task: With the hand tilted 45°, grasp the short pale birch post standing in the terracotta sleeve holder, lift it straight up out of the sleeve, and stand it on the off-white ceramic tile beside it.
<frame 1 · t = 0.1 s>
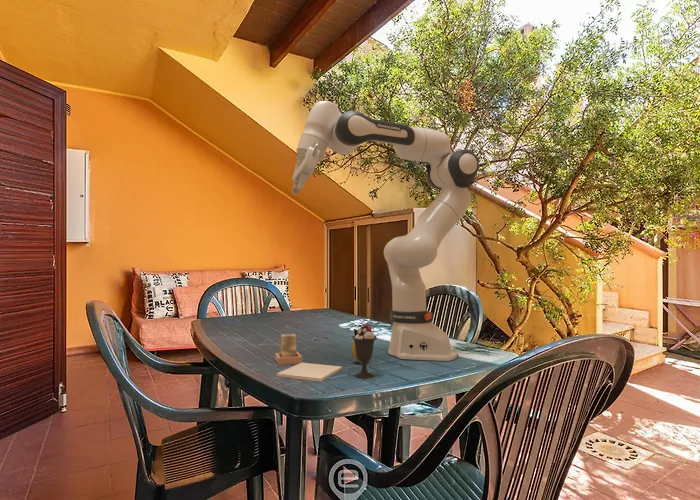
hand: (297, 191, 127), 52 cm above the table, tool tilted 20°, fingers open, 8 cm apart
tile: (310, 372, 112), on the table
birch post: (288, 348, 125), in the sleeve holder
sundae: (364, 376, 109), on the table
sleeve holder: (288, 361, 125), on the table
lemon: (361, 363, 124), on the table
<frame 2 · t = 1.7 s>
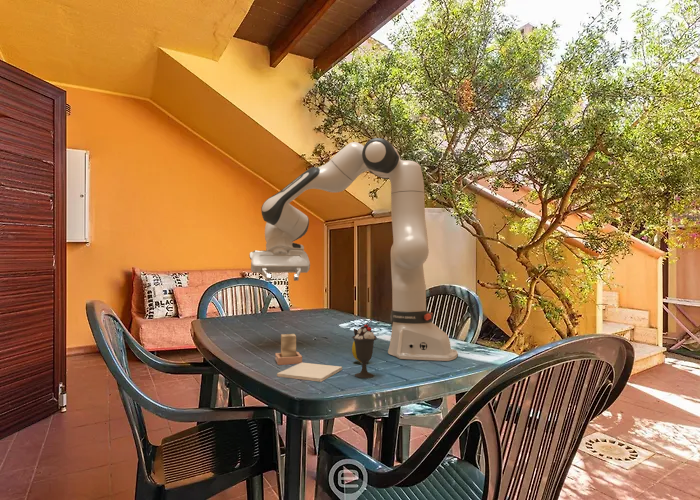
hand: (282, 279, 139), 24 cm above the table, tool tilted 45°, fingers open, 8 cm apart
nothing on the table moved.
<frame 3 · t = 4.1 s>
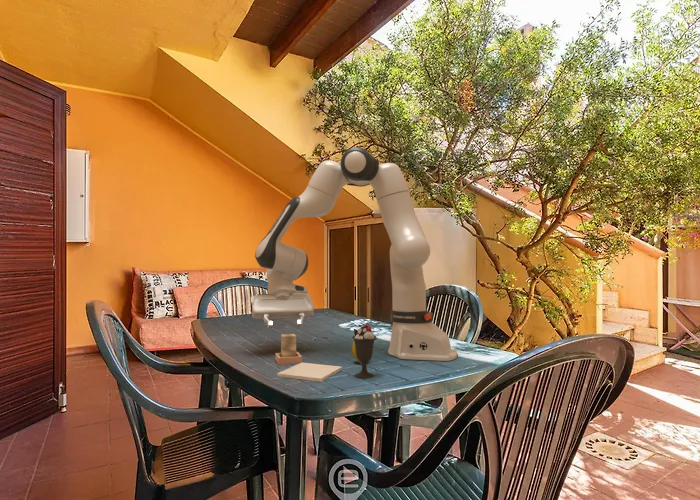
hand: (285, 326, 132), 10 cm above the table, tool tilted 45°, fingers open, 8 cm apart
nothing on the table moved.
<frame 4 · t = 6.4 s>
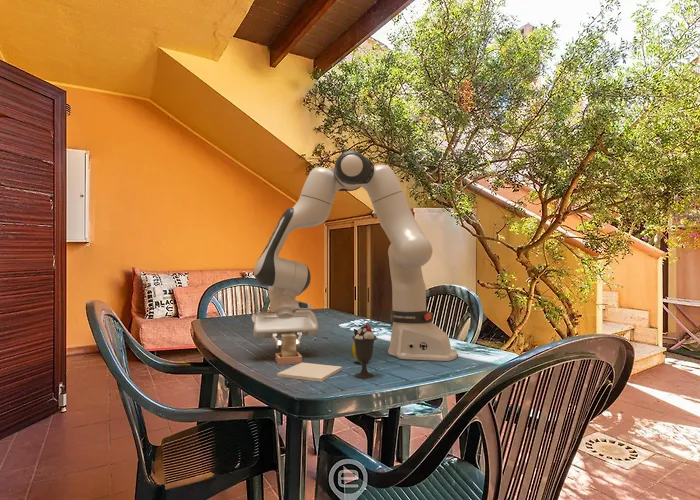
hand: (288, 346, 126), 4 cm above the table, tool tilted 45°, fingers closed on birch post, 4 cm apart
birch post: (288, 348, 125), in the sleeve holder, touching gripper
everything else where it was.
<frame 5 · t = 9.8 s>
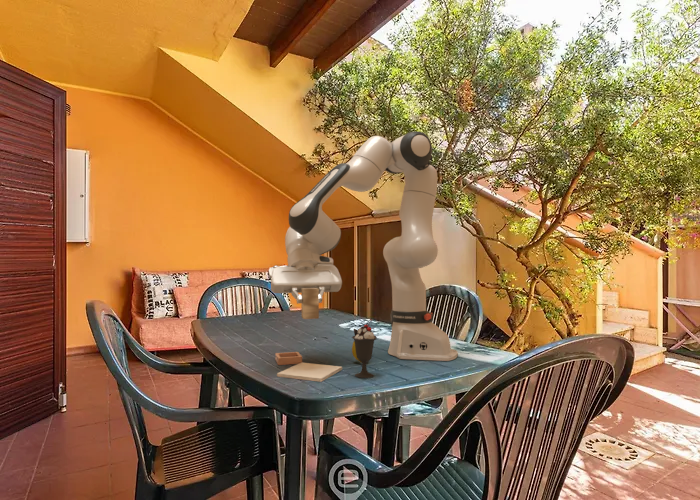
hand: (309, 301, 113), 19 cm above the table, tool tilted 45°, fingers closed on birch post, 4 cm apart
birch post: (309, 303, 113), point 19 cm above the table, touching gripper
everything else where it was.
when the fingers open (6 cm above the table, at t = 13.4 s): birch post stays where it is, resting on tile.
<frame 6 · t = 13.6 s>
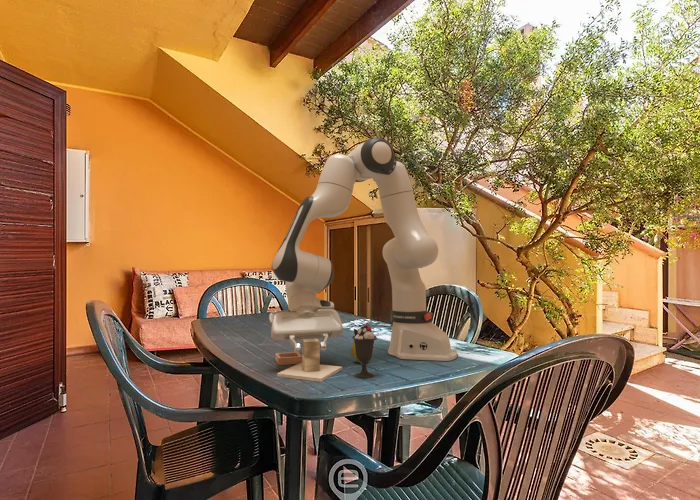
hand: (310, 349, 112), 6 cm above the table, tool tilted 45°, fingers open, 6 cm apart
birch post: (310, 355, 112), on the tile, point 5 cm above the table
everything else where it was.
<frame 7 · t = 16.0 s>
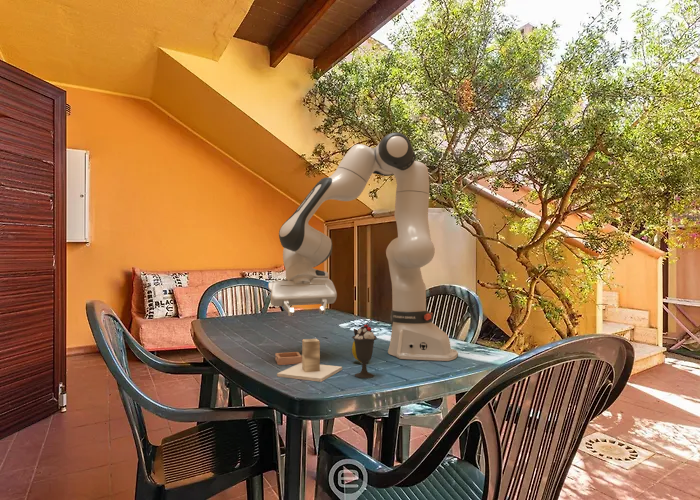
hand: (307, 313, 122), 15 cm above the table, tool tilted 45°, fingers open, 8 cm apart
nothing on the table moved.
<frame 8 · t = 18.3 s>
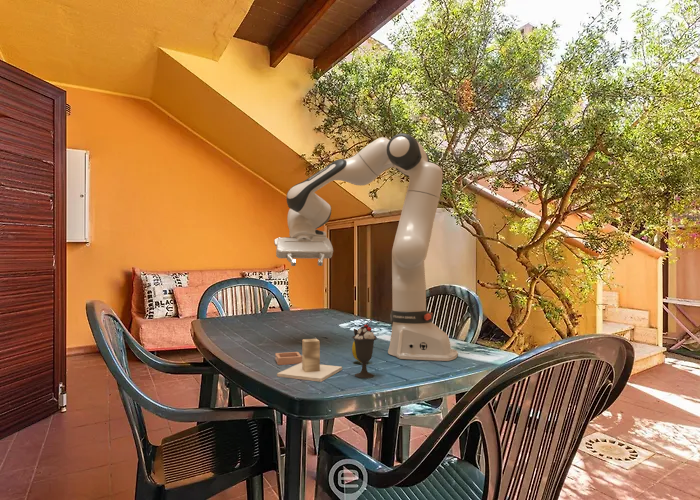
hand: (307, 264, 143), 29 cm above the table, tool tilted 45°, fingers open, 8 cm apart
nothing on the table moved.
at the end: birch post inside the target area on the tile (0.1 cm from its centre), point 4.8 cm above the tile's base; birch post tilted 0°; the gripper is holding nothing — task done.
